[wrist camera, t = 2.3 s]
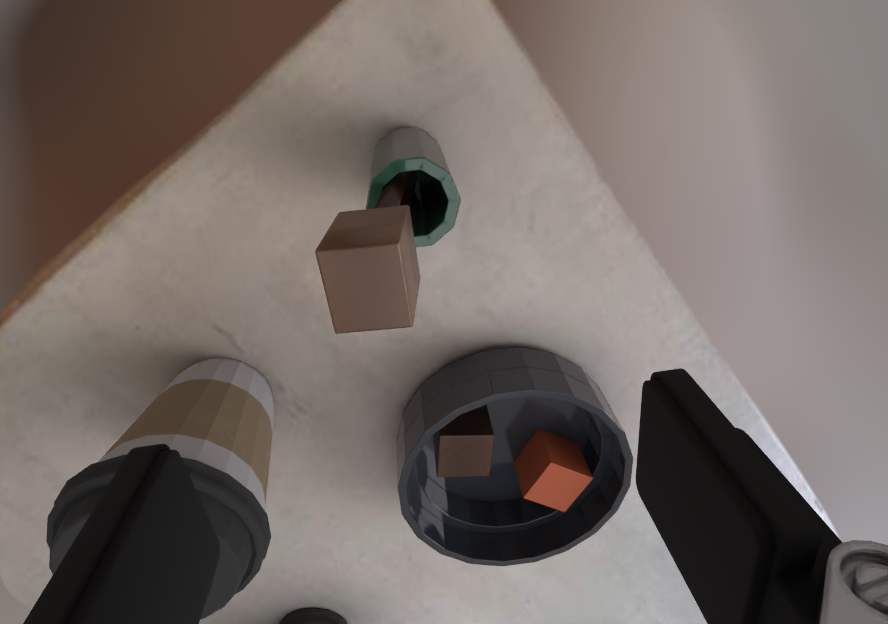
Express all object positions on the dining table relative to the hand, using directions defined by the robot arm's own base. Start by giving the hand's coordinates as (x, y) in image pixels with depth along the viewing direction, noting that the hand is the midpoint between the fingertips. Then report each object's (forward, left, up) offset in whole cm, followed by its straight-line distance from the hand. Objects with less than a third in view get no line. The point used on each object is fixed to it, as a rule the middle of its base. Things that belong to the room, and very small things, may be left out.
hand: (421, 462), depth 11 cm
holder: (0, 0, -26) cm, 26 cm away
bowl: (-12, +20, -26) cm, 35 cm away
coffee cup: (+10, +20, -26) cm, 34 cm away
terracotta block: (-16, +21, -26) cm, 37 cm away
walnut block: (-8, +19, -26) cm, 33 cm away
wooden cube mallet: (0, 0, -26) cm, 26 cm away
